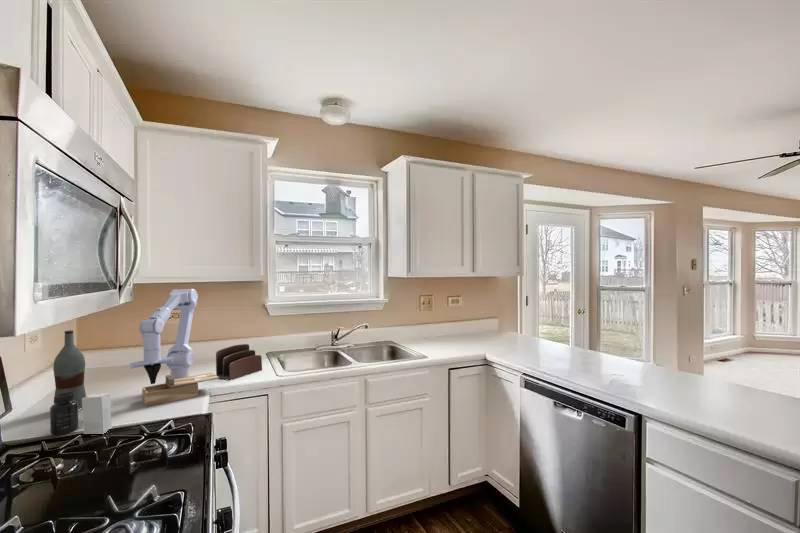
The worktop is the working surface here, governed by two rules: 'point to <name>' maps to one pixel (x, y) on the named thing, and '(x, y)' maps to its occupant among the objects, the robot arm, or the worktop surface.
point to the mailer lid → (189, 379)
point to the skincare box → (96, 413)
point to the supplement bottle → (64, 414)
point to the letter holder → (237, 362)
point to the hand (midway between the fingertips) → (152, 383)
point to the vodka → (70, 370)
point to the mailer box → (167, 393)
